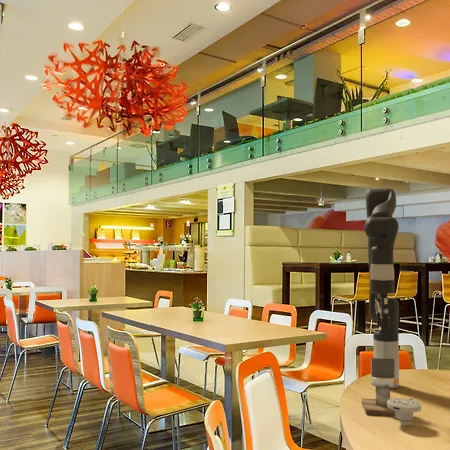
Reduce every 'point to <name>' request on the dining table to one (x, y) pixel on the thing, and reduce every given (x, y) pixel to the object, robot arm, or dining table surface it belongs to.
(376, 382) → the knob
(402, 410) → the showerhead
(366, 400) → the post base
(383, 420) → the dining table surface
